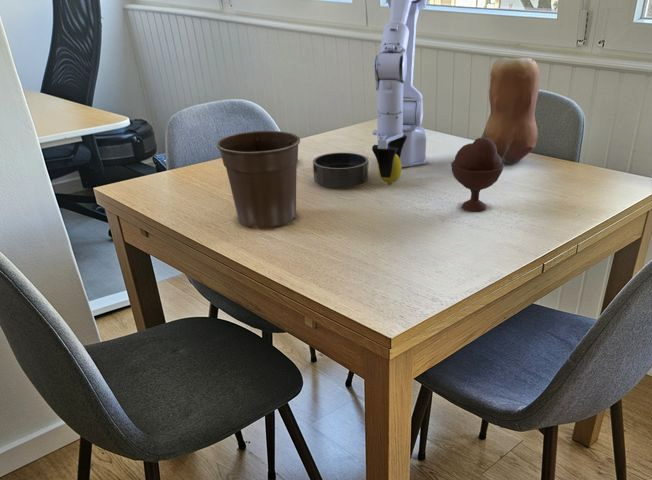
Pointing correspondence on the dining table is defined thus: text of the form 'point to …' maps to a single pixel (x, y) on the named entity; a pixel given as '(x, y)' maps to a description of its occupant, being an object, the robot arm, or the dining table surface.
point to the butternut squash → (513, 107)
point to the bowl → (341, 170)
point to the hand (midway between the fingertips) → (389, 172)
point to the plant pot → (262, 176)
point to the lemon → (393, 171)
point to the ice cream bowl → (477, 170)
